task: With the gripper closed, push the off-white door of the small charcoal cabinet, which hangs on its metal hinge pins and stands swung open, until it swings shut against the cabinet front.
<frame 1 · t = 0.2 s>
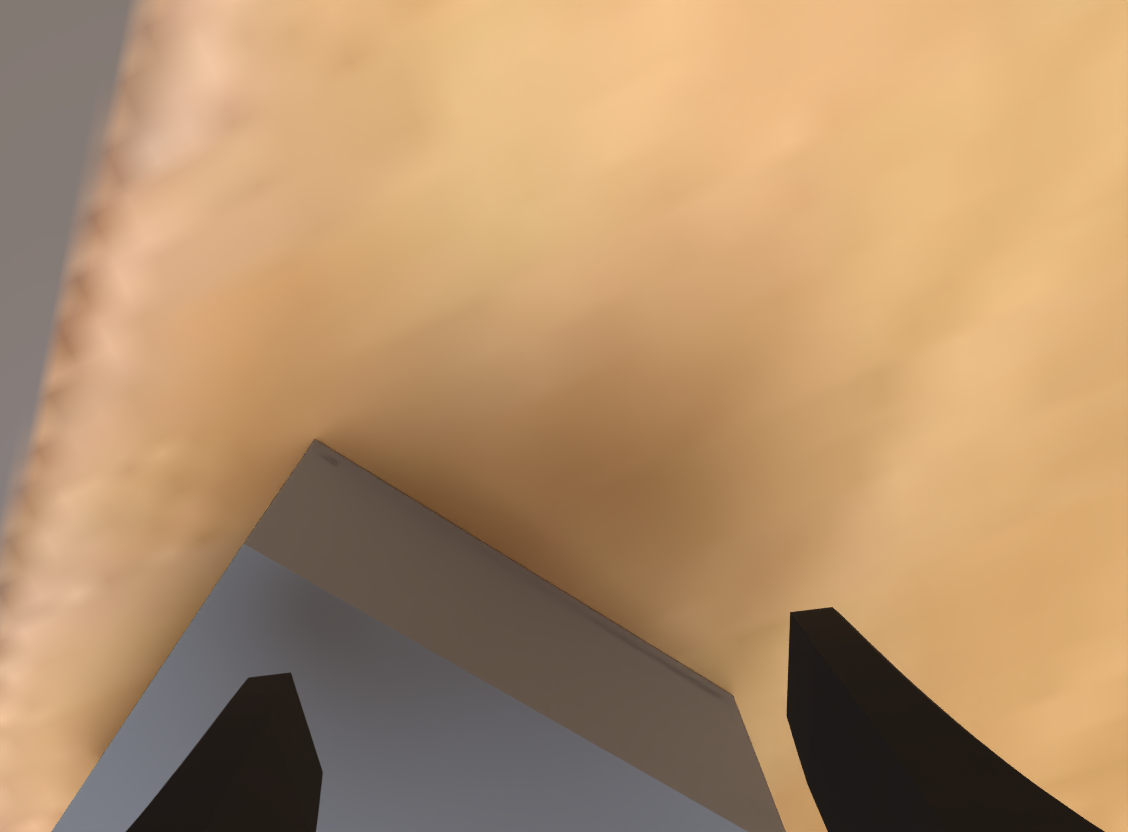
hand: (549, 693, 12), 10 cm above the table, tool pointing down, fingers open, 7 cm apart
cabinet: (418, 728, 25), on the table
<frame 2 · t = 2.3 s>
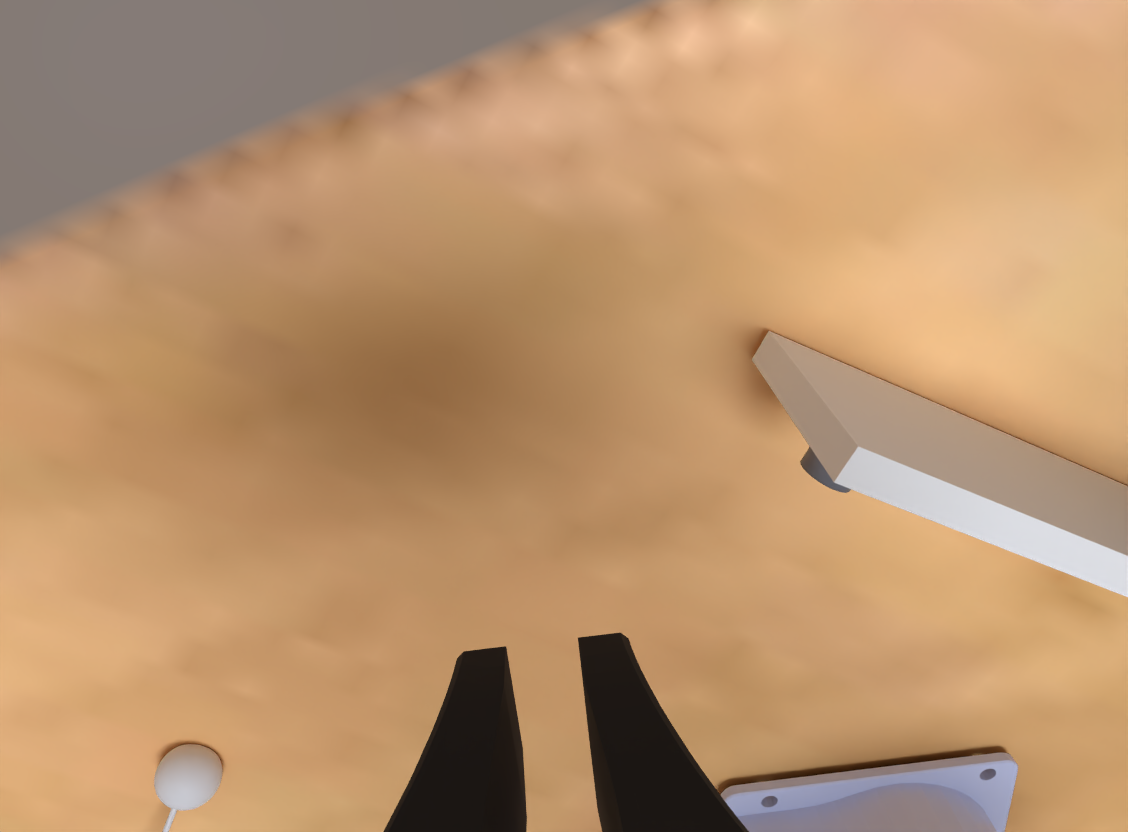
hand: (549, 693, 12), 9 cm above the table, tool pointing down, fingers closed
door: (1044, 519, 20), point 3 cm above the table, hinge at 60.0°
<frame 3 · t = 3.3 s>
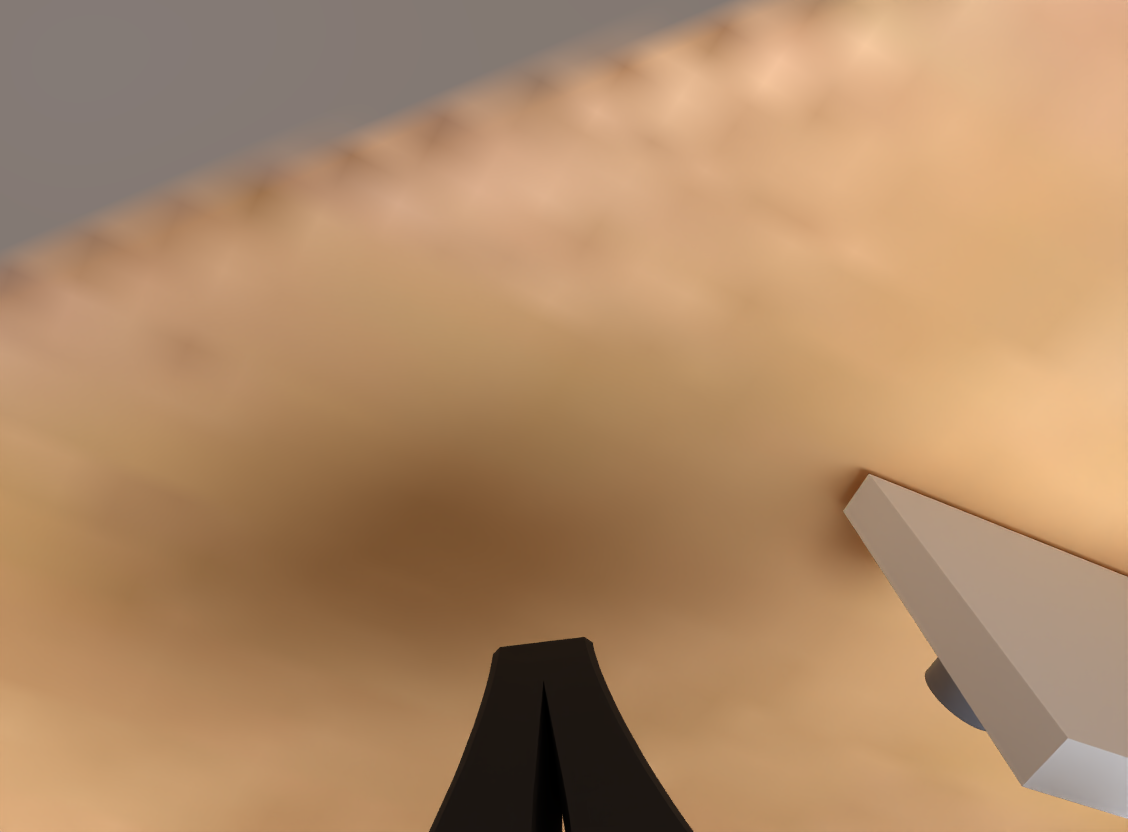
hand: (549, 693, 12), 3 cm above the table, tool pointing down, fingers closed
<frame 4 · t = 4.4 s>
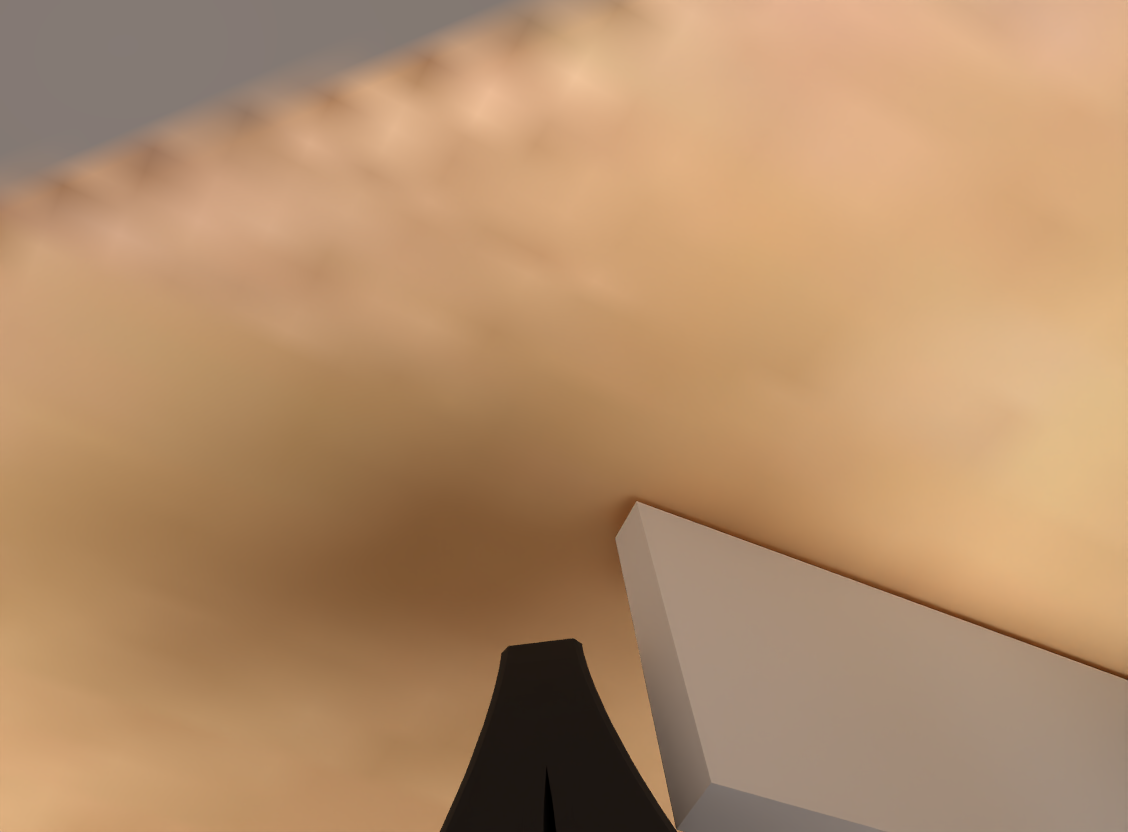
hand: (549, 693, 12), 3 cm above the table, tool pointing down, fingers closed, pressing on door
door: (1024, 777, 14), point 3 cm above the table, hinge at 59.9°, touching gripper
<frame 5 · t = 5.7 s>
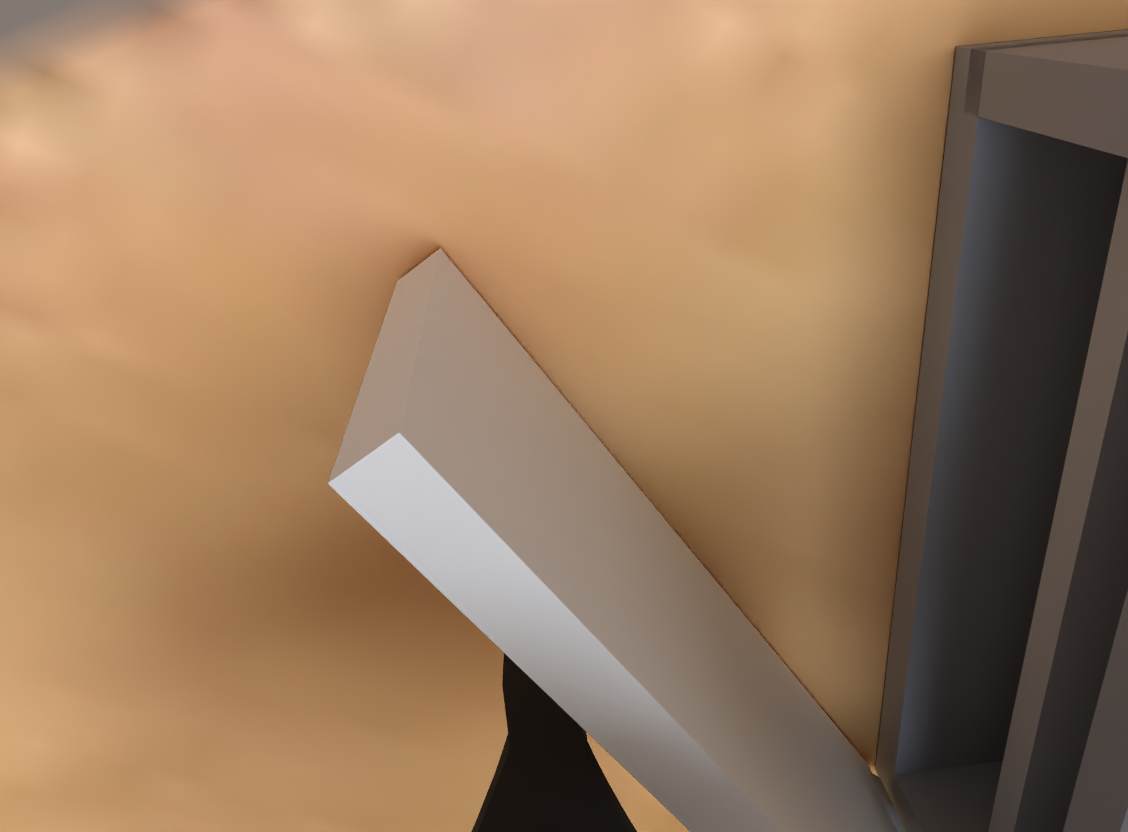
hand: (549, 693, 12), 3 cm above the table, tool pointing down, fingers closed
door: (692, 706, 13), point 3 cm above the table, hinge at 31.1°, touching gripper
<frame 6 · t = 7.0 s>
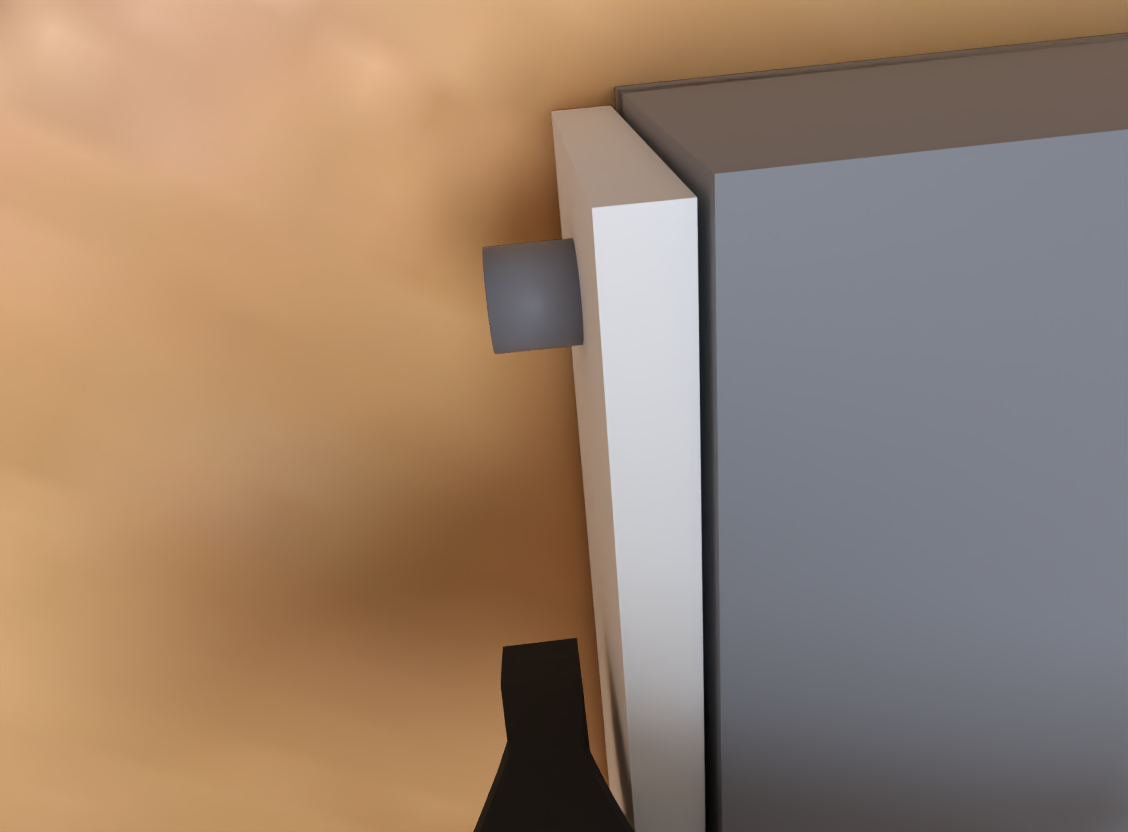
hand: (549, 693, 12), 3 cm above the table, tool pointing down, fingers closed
cabinet: (983, 478, 15), on the table
door: (603, 658, 12), point 3 cm above the table, hinge at -0.5°, touching gripper
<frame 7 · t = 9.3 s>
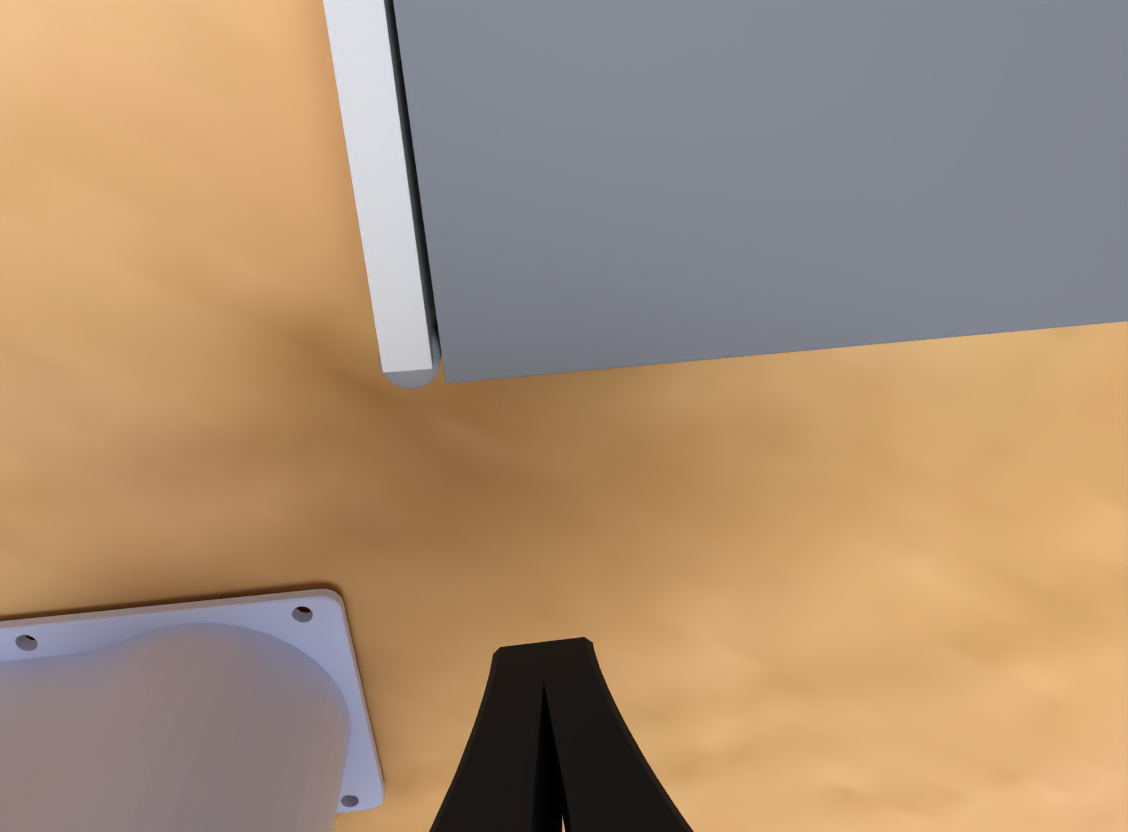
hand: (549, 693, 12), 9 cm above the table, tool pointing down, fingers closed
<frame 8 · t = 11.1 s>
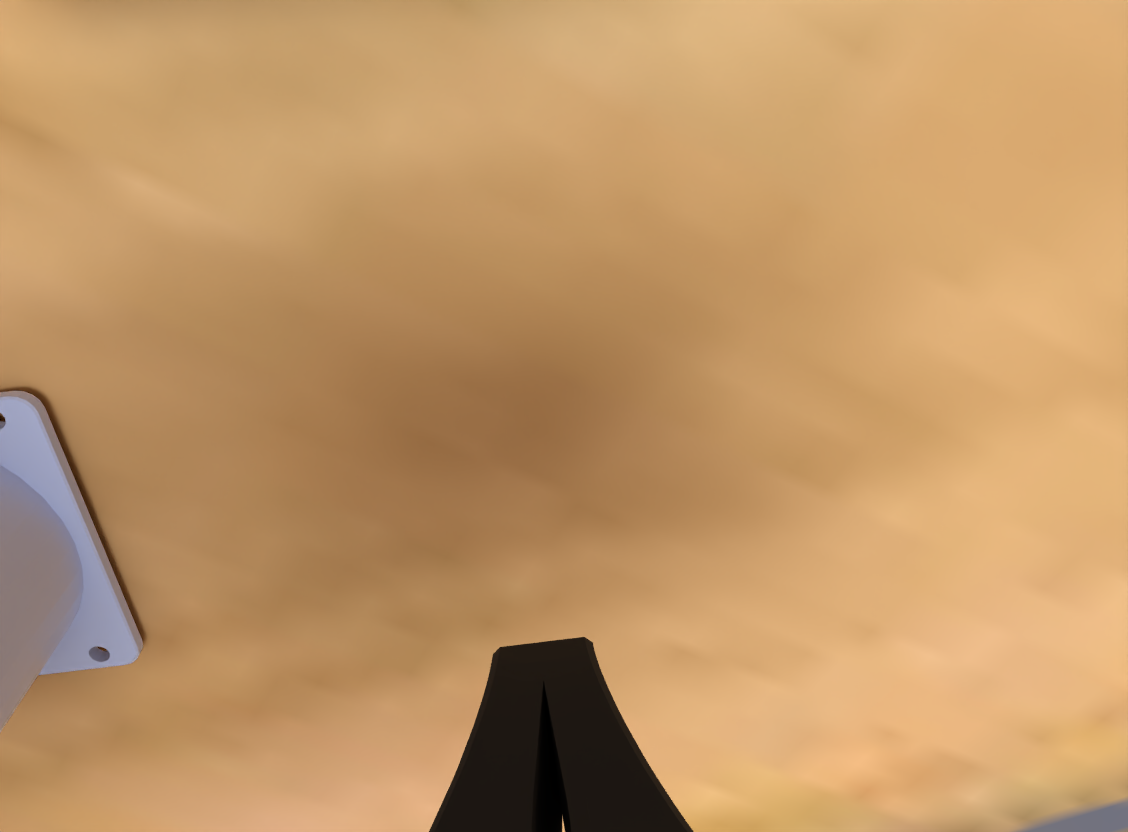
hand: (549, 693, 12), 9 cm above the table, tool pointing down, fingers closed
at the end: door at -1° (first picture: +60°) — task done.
